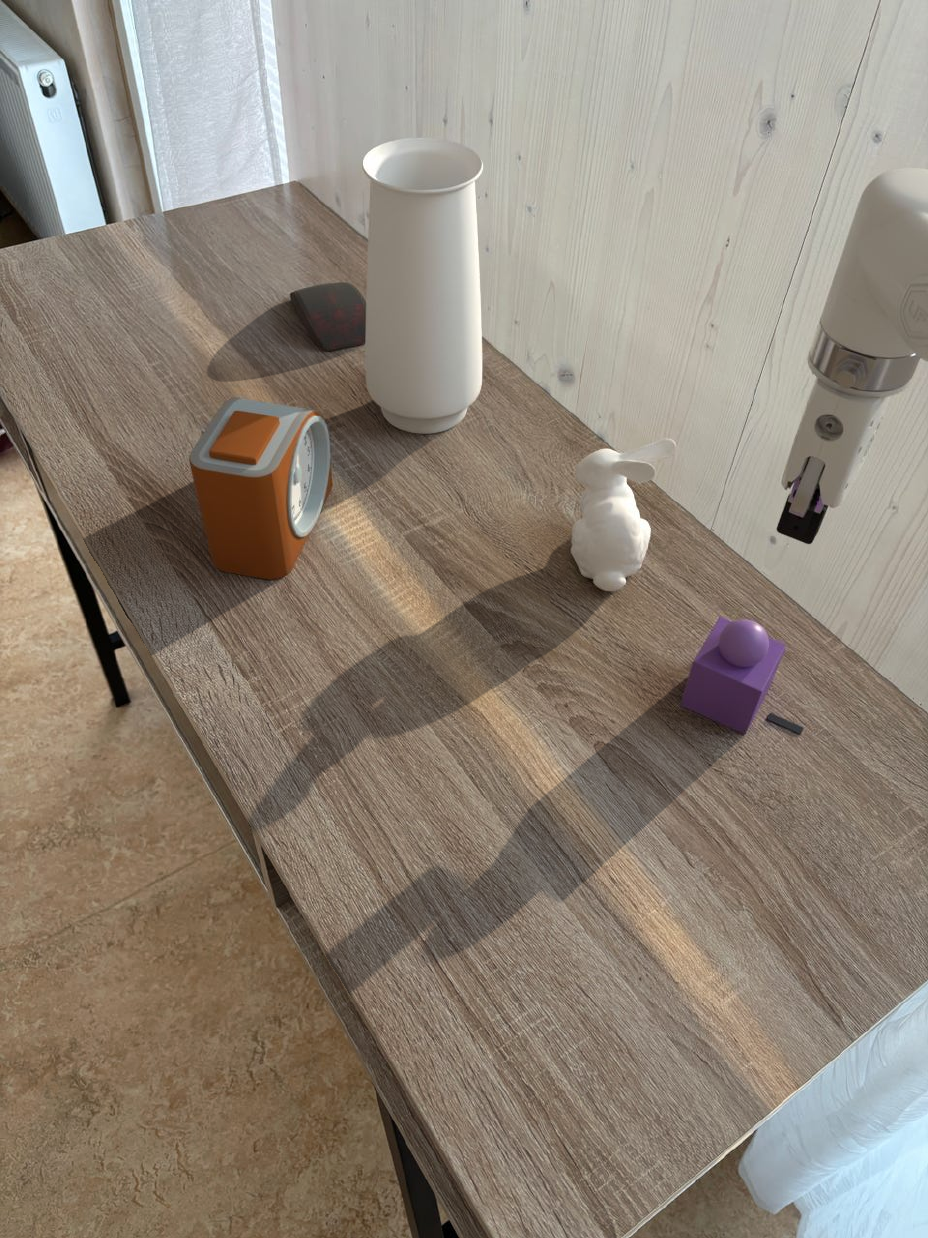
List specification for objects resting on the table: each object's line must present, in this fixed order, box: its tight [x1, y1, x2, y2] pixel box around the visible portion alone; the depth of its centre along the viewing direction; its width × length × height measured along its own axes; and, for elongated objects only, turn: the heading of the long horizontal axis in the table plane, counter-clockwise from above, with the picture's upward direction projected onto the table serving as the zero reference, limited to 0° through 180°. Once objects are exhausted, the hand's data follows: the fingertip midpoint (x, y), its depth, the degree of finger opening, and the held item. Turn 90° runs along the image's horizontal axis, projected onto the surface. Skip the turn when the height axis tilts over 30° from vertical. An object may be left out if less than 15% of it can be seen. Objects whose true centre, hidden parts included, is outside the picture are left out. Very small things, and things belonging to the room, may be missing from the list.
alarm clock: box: [188, 397, 334, 581], centre depth 97 cm, size 15×8×14 cm, turn 167°
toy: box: [680, 616, 787, 736], centre depth 85 cm, size 6×6×9 cm
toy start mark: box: [766, 712, 805, 735], centre depth 87 cm, size 3×1×1 cm, turn 59°
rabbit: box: [570, 437, 677, 592], centre depth 96 cm, size 12×9×12 cm
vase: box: [361, 137, 484, 435], centre depth 106 cm, size 13×13×28 cm
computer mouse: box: [289, 281, 366, 352], centre depth 127 cm, size 8×14×4 cm, turn 23°
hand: (796, 532), depth 88 cm, fingers closed
